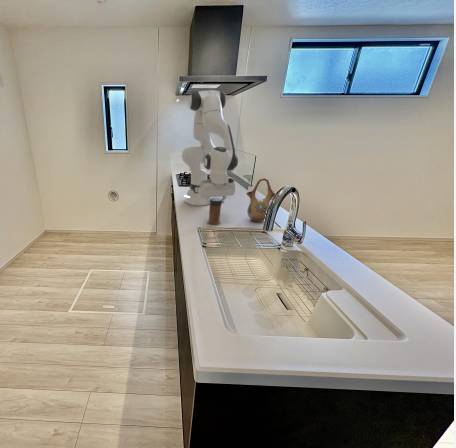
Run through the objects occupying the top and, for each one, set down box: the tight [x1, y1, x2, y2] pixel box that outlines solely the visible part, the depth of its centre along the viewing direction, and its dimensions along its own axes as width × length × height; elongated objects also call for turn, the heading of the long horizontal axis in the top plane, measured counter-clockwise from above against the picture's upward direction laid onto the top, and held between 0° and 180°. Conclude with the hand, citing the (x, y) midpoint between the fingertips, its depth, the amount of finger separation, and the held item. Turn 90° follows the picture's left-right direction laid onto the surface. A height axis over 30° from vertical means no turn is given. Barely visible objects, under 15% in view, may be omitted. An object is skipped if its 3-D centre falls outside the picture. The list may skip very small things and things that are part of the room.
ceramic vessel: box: [246, 177, 276, 223], centre depth 135 cm, size 16×9×25 cm, turn 87°
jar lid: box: [209, 197, 222, 206], centre depth 132 cm, size 7×6×3 cm
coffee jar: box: [207, 204, 222, 226], centre depth 135 cm, size 6×6×13 cm
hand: (215, 203), depth 133 cm, fingers closed on jar lid, 6 cm apart
